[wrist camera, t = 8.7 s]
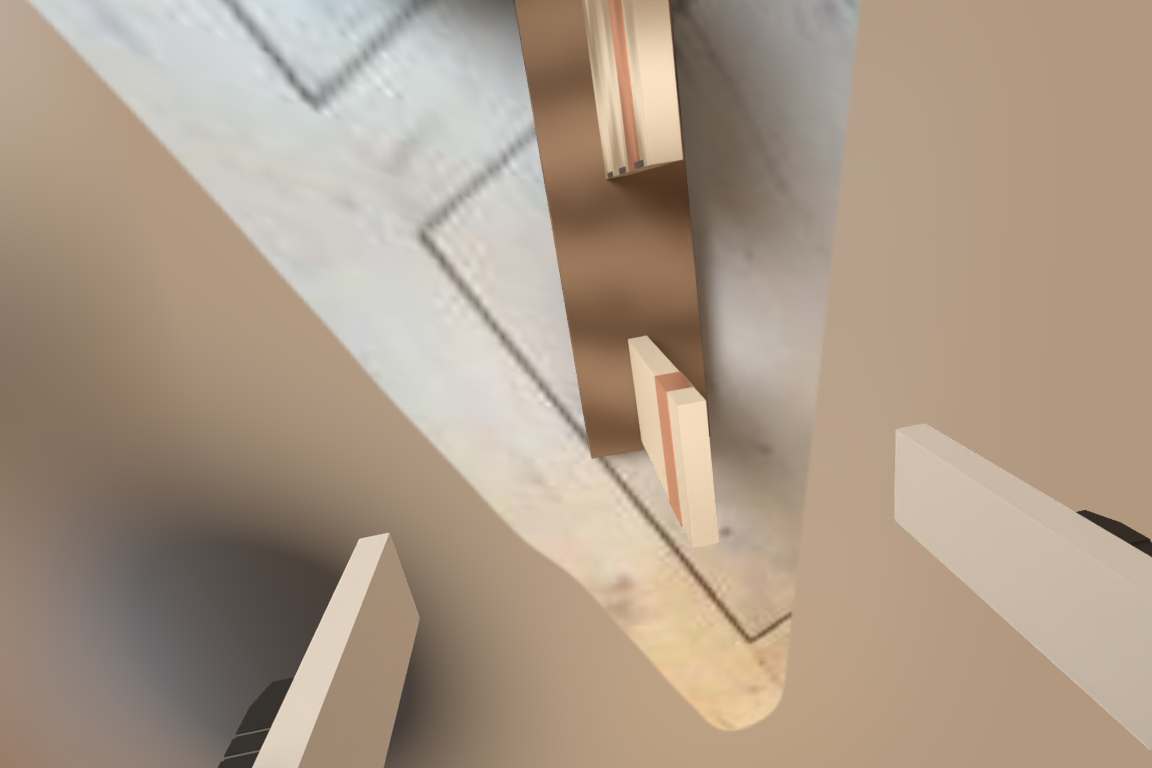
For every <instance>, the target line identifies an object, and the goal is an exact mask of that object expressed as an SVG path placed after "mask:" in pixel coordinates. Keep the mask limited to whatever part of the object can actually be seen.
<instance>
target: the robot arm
mask: <svg viewBox="0 0 1152 768" xmlns="http://www.w3.org/2000/svg"><path fill="white" fill-rule="evenodd" d="M895 449H896V450H895V452H896V453H895V494H894V495H895V496H894V520H895V521H896V522H898V524H900V525H901V526H902V527H903V528H904V529H905V530H906V531H907V532H908V533H910V534H911V535H912V536H913V537H914V538H915V539H916V540H917V541H918V542H920V543H921V544H922V545H923V546H924V547H925V548H926V549H927V550H928V551H930V552H931V553H932V554H933V555H934V556H935V557H936V558H937V559H938V560H939V561H941V562H942V563H943V564H944V565H945V566H946V567H947V568H948V569H949V570H951V571H952V572H953V573H954V574H955V575H956V576H957V577H958V578H959V579H961V580H962V581H963V582H964V583H965V584H966V585H967V586H969V588H971V589H972V590H973V591H974V592H975V593H976V594H977V595H978V596H979V597H981V598H982V599H983V600H984V601H985V602H986V603H987V604H989V606H990V607H992V608H993V609H994V610H995V611H996V612H997V613H998V614H999V615H1000V616H1002V617H1003V618H1004V619H1005V620H1006V621H1007V622H1008V623H1009V624H1010V625H1012V626H1013V627H1014V628H1015V629H1016V630H1017V631H1018V632H1019V633H1020V634H1022V635H1023V636H1024V637H1025V638H1026V639H1027V640H1028V641H1029V642H1031V643H1032V644H1033V645H1034V646H1035V647H1036V648H1037V649H1038V650H1039V651H1040V652H1042V653H1043V654H1044V655H1045V656H1046V657H1047V658H1048V659H1049V660H1050V661H1052V662H1053V663H1054V664H1055V665H1056V666H1057V667H1058V668H1059V669H1061V671H1063V672H1064V673H1065V674H1066V675H1067V676H1068V677H1069V678H1070V679H1071V680H1073V681H1074V682H1075V683H1076V684H1077V685H1078V686H1079V687H1080V688H1081V689H1083V690H1084V691H1085V692H1086V693H1087V694H1088V695H1089V696H1090V697H1091V698H1093V699H1094V700H1095V701H1096V702H1097V703H1098V704H1099V705H1100V706H1101V707H1102V708H1104V709H1105V710H1106V711H1107V712H1108V713H1109V714H1110V715H1111V716H1112V717H1114V718H1115V719H1116V720H1117V721H1118V722H1119V723H1120V724H1121V725H1122V726H1124V727H1125V728H1126V729H1127V730H1128V731H1129V732H1130V733H1131V734H1132V735H1134V736H1135V737H1136V738H1137V739H1138V740H1139V741H1140V742H1141V743H1142V744H1144V745H1145V746H1146V747H1147V748H1148V749H1149V750H1150V751H1152V543H1151V541H1150V539H1149V538H1147V537H1145V536H1144V535H1142V534H1140V533H1138V532H1136V531H1135V530H1133V529H1131V528H1129V527H1128V526H1126V525H1124V524H1122V523H1121V522H1118V521H1115V520H1112V519H1109V518H1106V517H1104V516H1101V515H1098V514H1095V513H1092V512H1089V511H1086V510H1083V511H1079V512H1074V511H1073V510H1071V509H1069V508H1067V507H1066V506H1064V505H1062V504H1061V503H1059V502H1057V501H1056V500H1054V499H1052V498H1051V497H1049V496H1047V495H1045V494H1044V493H1042V492H1040V491H1039V490H1037V489H1035V488H1034V487H1032V486H1030V485H1028V484H1027V483H1025V482H1023V481H1022V480H1020V479H1018V478H1017V477H1015V476H1013V475H1012V474H1010V473H1008V472H1006V471H1005V470H1003V469H1001V468H1000V467H998V466H996V465H995V464H993V463H991V462H990V461H988V460H986V459H985V458H983V457H981V456H979V455H978V454H976V453H974V452H973V451H971V450H969V449H968V448H966V447H964V446H963V445H961V444H959V443H958V442H956V441H954V440H953V439H951V438H949V437H947V436H946V435H944V434H942V433H941V432H939V431H937V430H936V429H934V428H932V427H931V426H929V425H927V424H925V423H923V424H918V425H913V426H909V427H904V428H899V429H896V448H895ZM418 623H419V615H418V612H417V609H416V606H415V604H414V601H413V598H412V595H411V592H410V589H409V586H408V584H407V581H406V578H405V575H404V572H403V569H402V567H401V564H400V561H399V558H398V556H397V552H396V550H395V547H394V544H393V541H392V538H391V535H390V533H386V534H381V535H376V536H371V537H366V538H362V539H359V541H358V543H357V545H356V548H355V549H354V552H353V554H352V556H351V558H350V560H349V562H348V565H347V566H346V569H345V571H344V573H343V575H342V577H341V579H340V581H339V584H338V586H337V588H336V590H335V592H334V594H333V596H332V598H331V601H330V603H329V605H328V607H327V609H326V611H325V614H324V616H323V618H322V620H321V622H320V624H319V626H318V628H317V631H316V633H315V635H314V637H313V639H312V641H311V644H310V645H309V648H308V650H307V652H306V654H305V656H304V658H303V660H302V662H301V665H300V667H299V669H298V671H297V673H296V675H295V677H294V678H289V679H284V680H280V681H274V682H272V683H271V684H270V685H269V686H268V687H267V688H266V689H265V691H264V692H263V693H262V694H261V695H260V696H259V697H258V699H257V700H256V701H255V702H254V703H253V704H252V705H251V706H250V708H249V710H248V711H247V713H246V715H245V717H244V719H243V721H242V723H241V725H240V727H239V729H238V730H237V732H236V738H235V739H233V740H232V742H231V744H230V746H229V747H228V749H227V751H226V753H225V755H224V761H222V762H221V763H220V765H219V766H218V768H383V767H384V763H385V759H386V755H387V751H388V746H389V741H390V738H391V734H392V730H393V726H394V721H395V717H396V713H397V709H398V705H399V701H400V697H401V693H402V688H403V685H404V681H405V676H406V672H407V668H408V664H409V660H410V656H411V652H412V647H413V644H414V639H415V635H416V631H417V627H418Z"/></svg>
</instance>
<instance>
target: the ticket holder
mask: <svg viewBox="0 0 1152 768" xmlns="http://www.w3.org/2000/svg"><path fill="white" fill-rule="evenodd" d="M514 5H515V11H516V16H517V22H518V28H519V34H520V40H521V46H522V52H523V58H524V64H525V70H526V76H527V82H528V88H529V94H530V100H531V106H532V112H533V118H534V123H535V129H536V135H537V141H538V147H539V153H540V159H541V165H542V171H543V177H544V183H545V189H546V195H547V201H548V207H549V213H550V219H551V225H552V230H553V236H554V242H555V248H556V254H557V260H558V266H559V272H560V278H561V284H562V290H563V296H564V302H565V308H566V314H567V320H568V326H569V332H570V337H571V343H572V349H573V355H574V361H575V367H576V373H577V379H578V385H579V391H580V397H581V403H582V409H583V415H584V421H585V427H586V433H587V439H588V445H589V449H590V453H591V457H592V458H597V457H603V456H608V455H614V454H619V453H625V452H630V451H635V450H641V449H645V448H644V445H643V443H642V441H641V434H640V426H639V419H638V411H637V404H636V396H635V389H634V382H633V374H632V367H631V359H630V352H629V344H628V339H631V338H636V337H642V336H648V337H649V339H650V340H651V341H652V342H653V343H654V344H655V345H656V346H657V347H658V348H659V350H660V351H661V352H662V353H663V354H664V355H665V356H666V357H667V358H668V359H669V361H670V362H671V363H672V364H673V365H674V366H675V367H676V368H677V369H678V370H679V371H681V372H682V373H683V375H684V376H685V377H686V378H687V379H688V380H689V381H690V382H691V383H692V384H693V385H694V387H695V389H696V390H697V391H698V392H699V393H700V395H701V396H702V397H703V398H704V399H705V400H706V407H707V418H708V429H709V437H710V428H709V417H708V406H707V395H706V384H705V374H704V363H703V352H702V341H701V330H700V319H699V308H698V297H697V286H696V275H695V264H694V253H693V242H692V231H691V220H690V209H689V198H688V187H687V176H686V165H685V154H684V143H683V132H682V121H681V110H680V99H679V88H678V77H677V66H676V55H675V45H674V34H673V23H672V12H671V1H670V0H514Z"/></svg>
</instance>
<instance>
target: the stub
mask: <svg viewBox="0 0 1152 768" xmlns="http://www.w3.org/2000/svg"><path fill="white" fill-rule="evenodd" d="M628 344H629V352H630V359H631V367H632V374H633V382H634V389H635V396H636V404H637V411H638V419H639V426H640V434H641V441H642V443H643V445H644V448H645V450H646V452H647V454H648V456H649V458H650V460H651V462H652V464H653V466H654V468H655V470H656V472H657V475H658V477H659V479H660V481H661V483H662V485H663V487H664V489H665V491H666V493H667V495H668V497H669V501H670V504H671V506H672V508H673V510H674V512H675V514H676V516H677V518H678V520H679V522H680V525H681V527H683V528H684V531H685V533H686V535H687V537H688V539H689V541H690V543H691V545H692V547H693V548H698V547H703V546H709V545H714V544H719V538H718V527H717V516H716V505H715V494H714V484H713V473H712V462H711V451H710V440H709V429H708V418H707V407H706V400H705V399H704V398H703V397H702V396H701V395H700V393H699V392H698V391H697V390H696V389H695V387H694V385H693V384H692V383H691V382H690V381H689V380H688V379H687V378H686V377H685V376H684V375H683V373H682V372H681V371H679V370H678V369H677V368H676V367H675V366H674V365H673V364H672V363H671V362H670V361H669V359H668V358H667V357H666V356H665V355H664V354H663V353H662V352H661V351H660V350H659V348H658V347H657V346H656V345H655V344H654V343H653V342H652V341H651V340H650V339H649V337H648V336H642V337H636V338H631V339H628Z"/></svg>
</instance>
